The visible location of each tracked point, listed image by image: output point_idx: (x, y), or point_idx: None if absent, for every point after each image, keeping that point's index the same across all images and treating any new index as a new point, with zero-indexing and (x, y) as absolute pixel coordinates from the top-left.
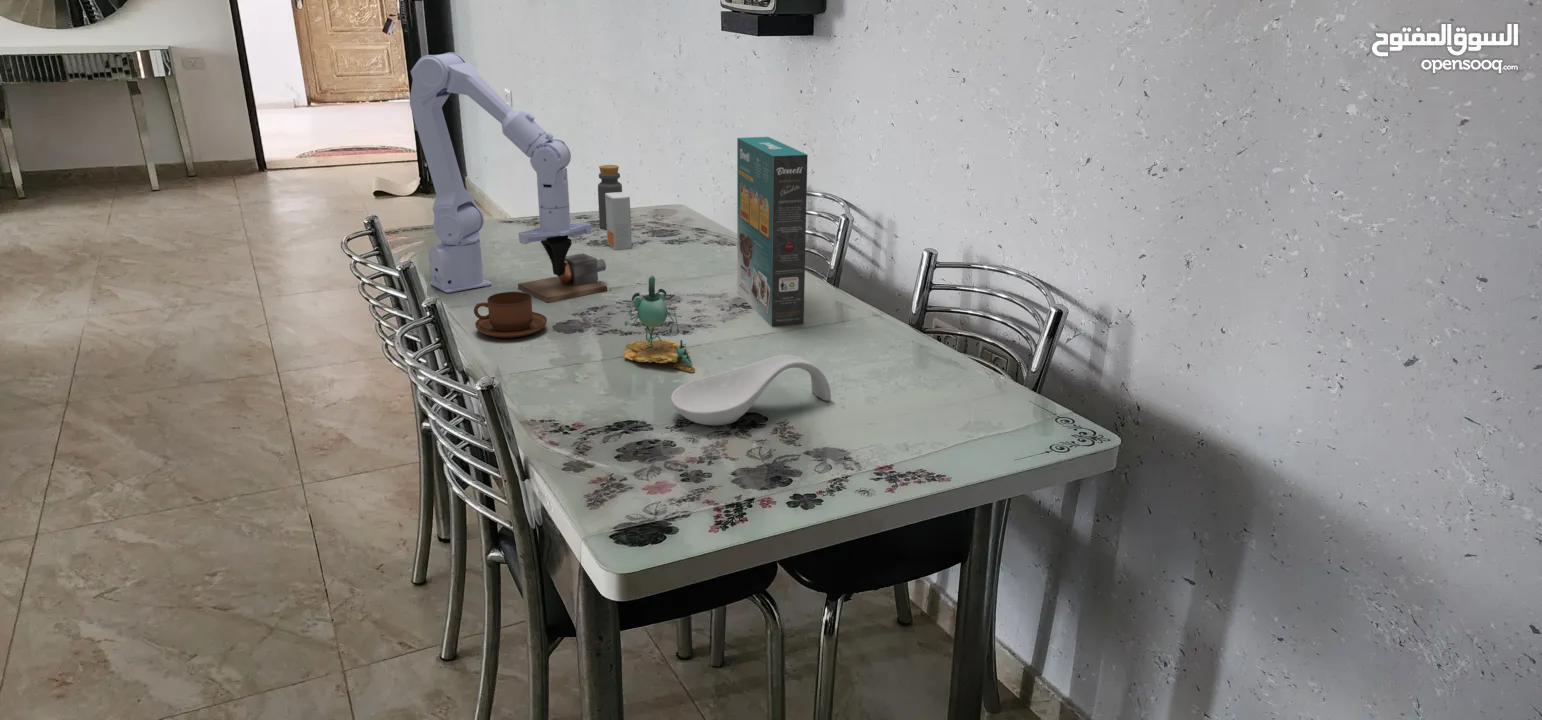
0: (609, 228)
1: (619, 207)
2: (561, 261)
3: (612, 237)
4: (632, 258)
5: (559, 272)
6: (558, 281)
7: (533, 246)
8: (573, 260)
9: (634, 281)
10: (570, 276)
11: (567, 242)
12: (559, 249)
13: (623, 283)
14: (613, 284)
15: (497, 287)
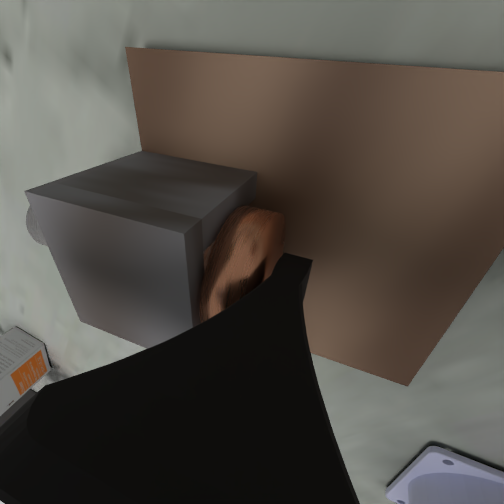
0: (11, 392)
1: None
2: (267, 306)
3: (23, 369)
4: (17, 286)
5: (306, 266)
6: None
7: None
8: (166, 277)
9: (20, 101)
10: (257, 209)
11: (51, 469)
12: (255, 426)
13: (59, 109)
14: (96, 129)
15: (438, 423)
